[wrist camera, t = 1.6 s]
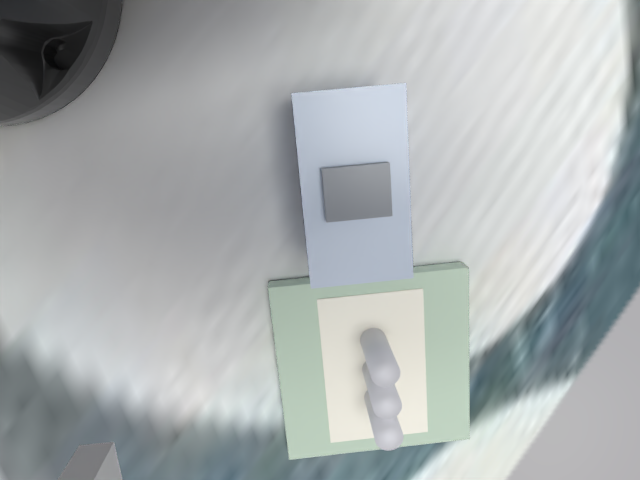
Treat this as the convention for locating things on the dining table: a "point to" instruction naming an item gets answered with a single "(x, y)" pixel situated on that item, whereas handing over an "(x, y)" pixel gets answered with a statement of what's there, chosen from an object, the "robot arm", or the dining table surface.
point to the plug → (355, 183)
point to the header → (373, 361)
